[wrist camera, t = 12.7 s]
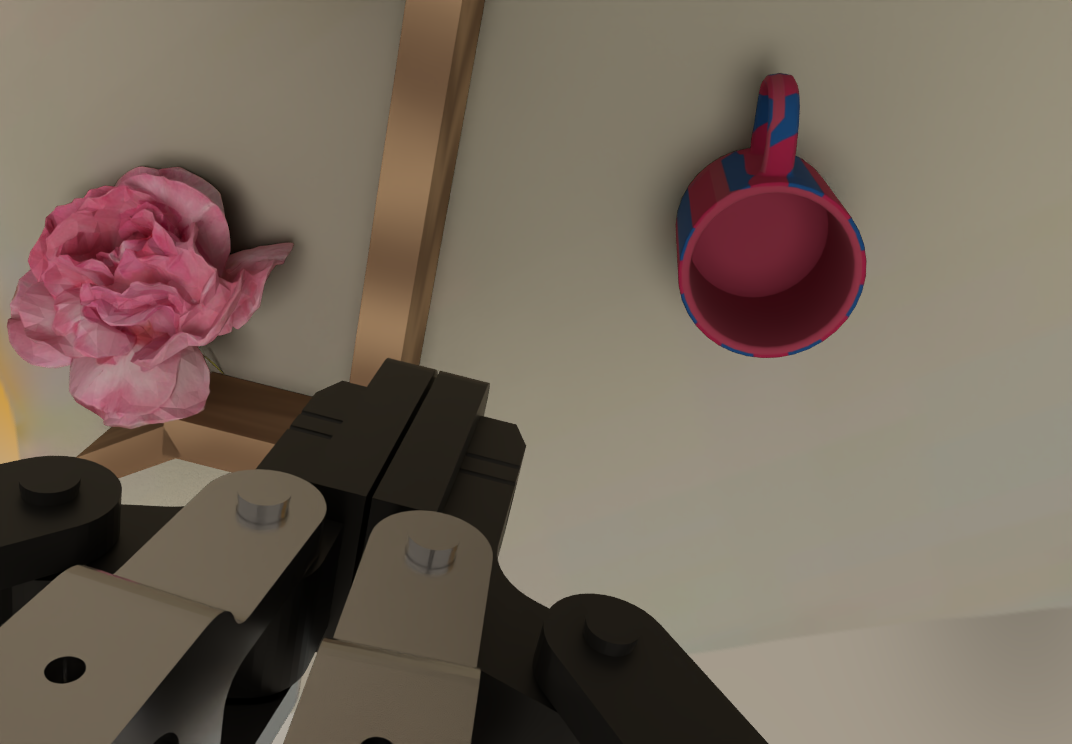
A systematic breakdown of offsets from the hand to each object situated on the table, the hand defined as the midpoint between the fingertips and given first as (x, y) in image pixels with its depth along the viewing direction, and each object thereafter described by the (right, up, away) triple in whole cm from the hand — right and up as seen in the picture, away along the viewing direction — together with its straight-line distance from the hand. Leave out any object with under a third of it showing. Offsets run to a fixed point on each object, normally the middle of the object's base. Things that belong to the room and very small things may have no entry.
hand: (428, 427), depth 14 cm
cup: (+11, +9, +27) cm, 30 cm away
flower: (-15, +6, +31) cm, 35 cm away
